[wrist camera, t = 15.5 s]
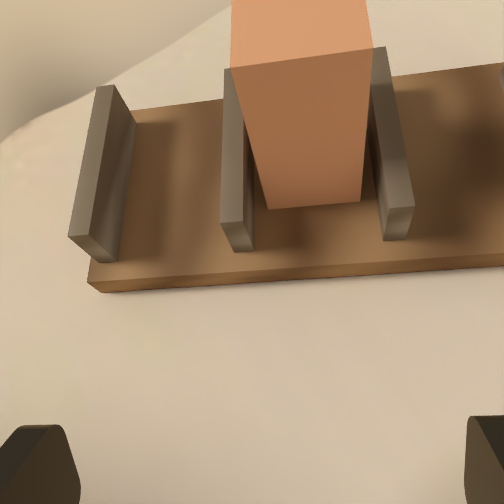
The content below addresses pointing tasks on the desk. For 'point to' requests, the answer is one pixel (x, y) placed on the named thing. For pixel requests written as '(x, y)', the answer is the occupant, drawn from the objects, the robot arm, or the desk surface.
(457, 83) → the walnut rack
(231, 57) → the terracotta block
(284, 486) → the desk surface
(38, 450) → the robot arm
